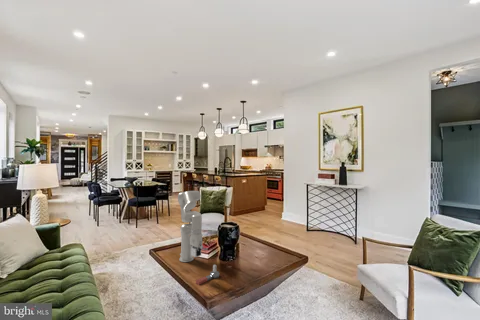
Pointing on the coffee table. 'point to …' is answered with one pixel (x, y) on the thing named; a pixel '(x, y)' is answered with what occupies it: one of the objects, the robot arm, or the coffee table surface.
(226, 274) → the coffee table surface
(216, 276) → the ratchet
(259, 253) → the coffee table surface
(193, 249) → the socket
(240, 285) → the coffee table surface
